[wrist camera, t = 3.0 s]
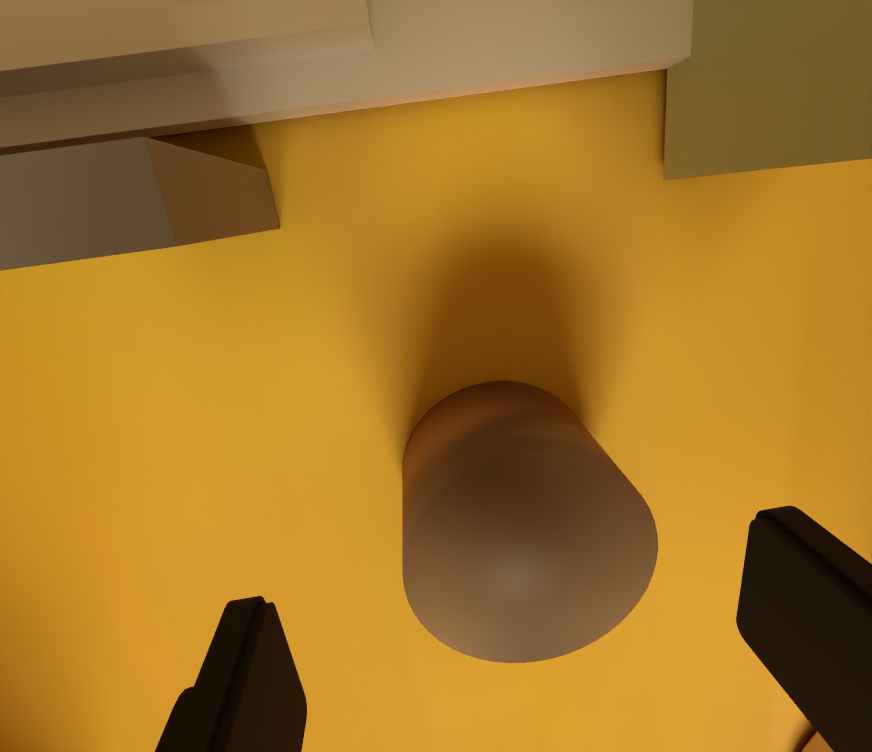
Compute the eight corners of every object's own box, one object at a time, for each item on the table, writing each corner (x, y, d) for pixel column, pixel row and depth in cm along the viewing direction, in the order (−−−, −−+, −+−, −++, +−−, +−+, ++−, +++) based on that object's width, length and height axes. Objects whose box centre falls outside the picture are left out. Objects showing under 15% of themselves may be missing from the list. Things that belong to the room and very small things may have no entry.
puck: (585, 367, 14) (662, 434, 10) (589, 530, 16) (654, 643, 12) (388, 395, 14) (382, 475, 10) (416, 556, 16) (422, 679, 12)
